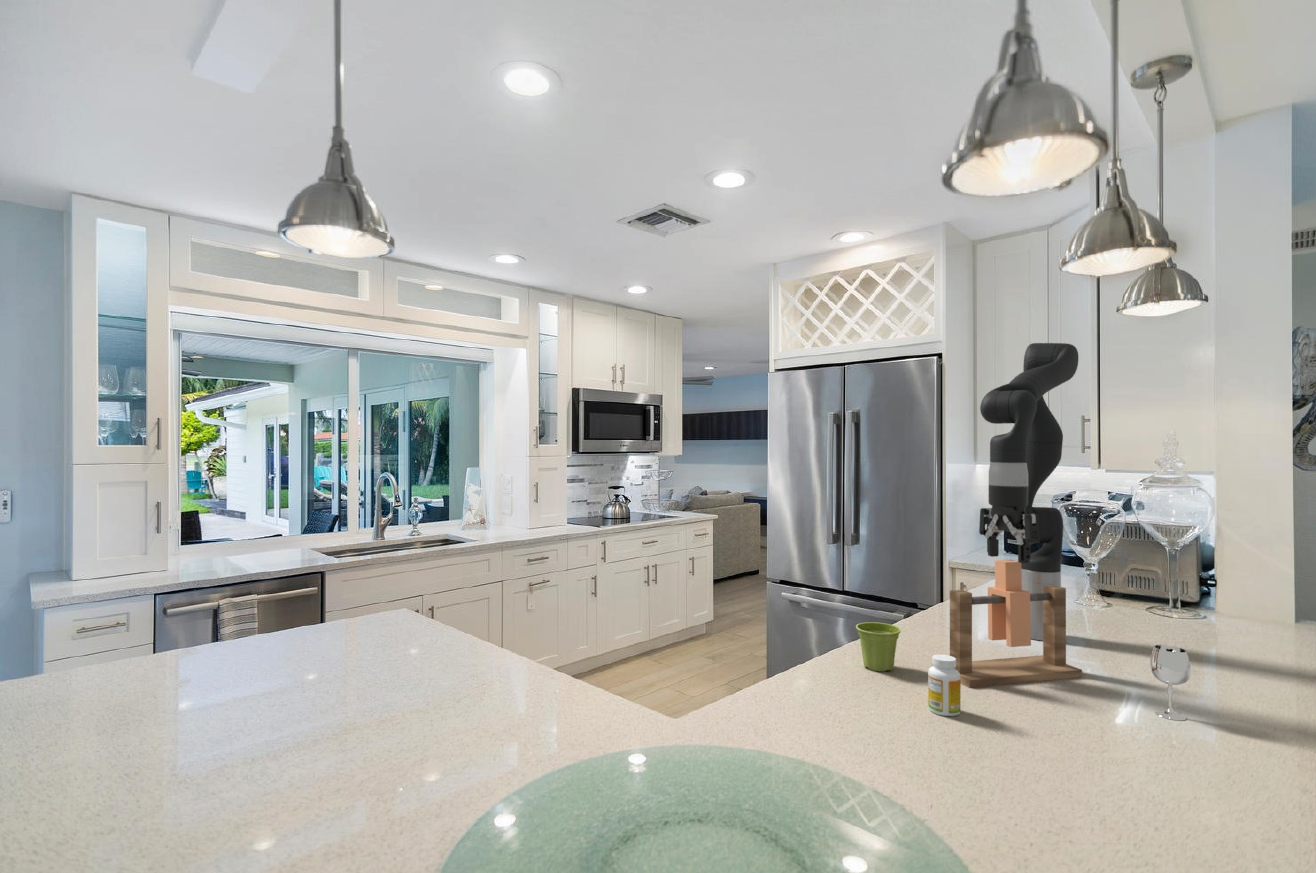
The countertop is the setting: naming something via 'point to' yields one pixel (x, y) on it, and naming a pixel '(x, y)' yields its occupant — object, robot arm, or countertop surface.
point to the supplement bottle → (944, 686)
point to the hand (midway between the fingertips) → (1007, 559)
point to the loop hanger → (1009, 606)
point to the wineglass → (1170, 673)
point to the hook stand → (1011, 668)
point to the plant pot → (878, 644)
